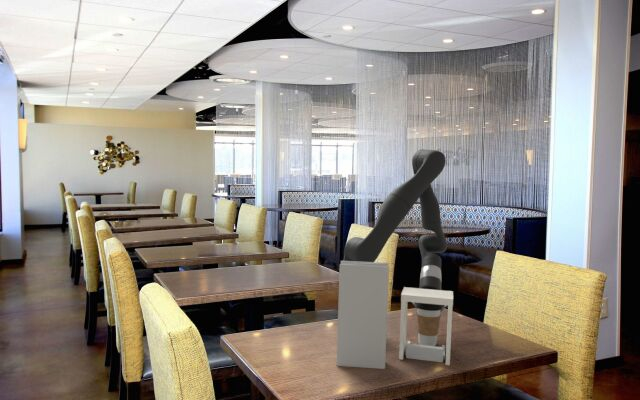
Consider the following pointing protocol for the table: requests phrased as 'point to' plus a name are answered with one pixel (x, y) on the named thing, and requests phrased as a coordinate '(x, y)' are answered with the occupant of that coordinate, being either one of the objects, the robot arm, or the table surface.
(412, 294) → the white rectangular frame
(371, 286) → the tall white box
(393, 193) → the robot arm
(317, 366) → the table surface
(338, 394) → the table surface
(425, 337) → the coffee cup
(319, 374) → the table surface
